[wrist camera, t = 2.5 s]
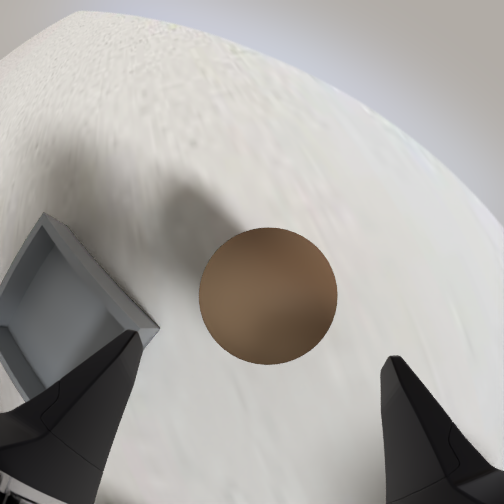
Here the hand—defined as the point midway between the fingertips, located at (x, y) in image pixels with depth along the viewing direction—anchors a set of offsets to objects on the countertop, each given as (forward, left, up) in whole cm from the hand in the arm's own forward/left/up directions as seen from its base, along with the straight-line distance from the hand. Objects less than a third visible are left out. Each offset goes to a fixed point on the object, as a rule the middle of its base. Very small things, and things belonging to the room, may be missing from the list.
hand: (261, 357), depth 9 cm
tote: (-11, +13, -10) cm, 20 cm away
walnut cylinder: (+2, +1, -10) cm, 11 cm away
